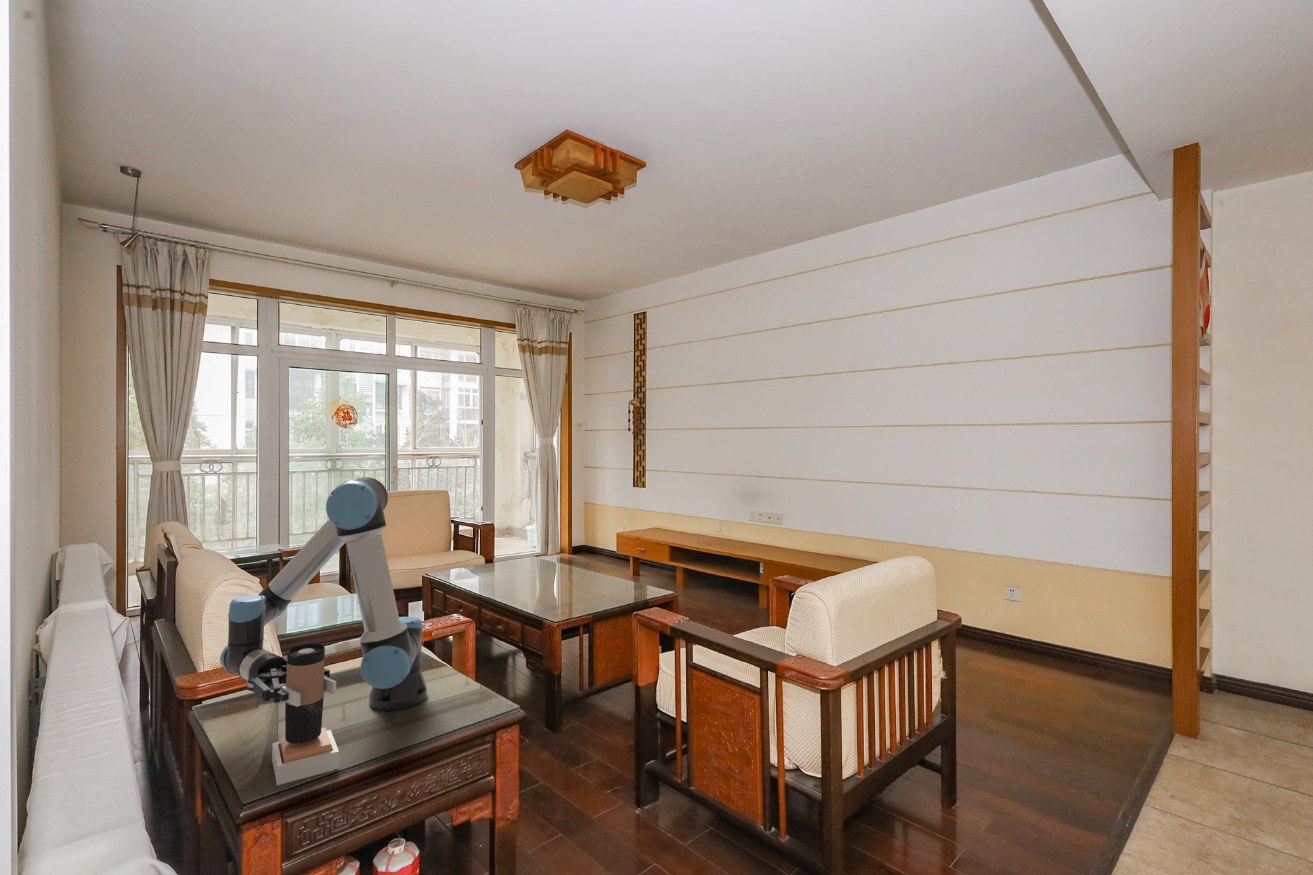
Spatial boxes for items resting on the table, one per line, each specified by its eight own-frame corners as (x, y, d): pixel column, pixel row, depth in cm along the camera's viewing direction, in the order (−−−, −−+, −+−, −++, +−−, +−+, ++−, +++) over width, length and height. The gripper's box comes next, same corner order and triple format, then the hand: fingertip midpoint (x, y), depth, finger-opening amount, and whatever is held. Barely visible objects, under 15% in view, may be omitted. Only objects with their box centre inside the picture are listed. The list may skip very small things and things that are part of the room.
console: (330, 745, 150) (330, 729, 150) (338, 768, 140) (339, 751, 140) (272, 760, 143) (272, 743, 143) (276, 785, 133) (277, 767, 133)
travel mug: (321, 725, 147) (324, 641, 146) (323, 739, 140) (326, 651, 140) (283, 732, 143) (286, 646, 142) (284, 747, 136) (287, 657, 136)
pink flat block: (324, 739, 148) (325, 727, 148) (330, 756, 141) (331, 743, 141) (279, 750, 143) (280, 737, 143) (283, 768, 135) (284, 755, 135)
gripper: (306, 671, 160) (358, 694, 147) (217, 698, 142) (268, 727, 130) (307, 642, 159) (360, 663, 147) (218, 666, 142) (269, 692, 130)
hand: (317, 693), depth 139 cm, fingers closed on travel mug, 7 cm apart
